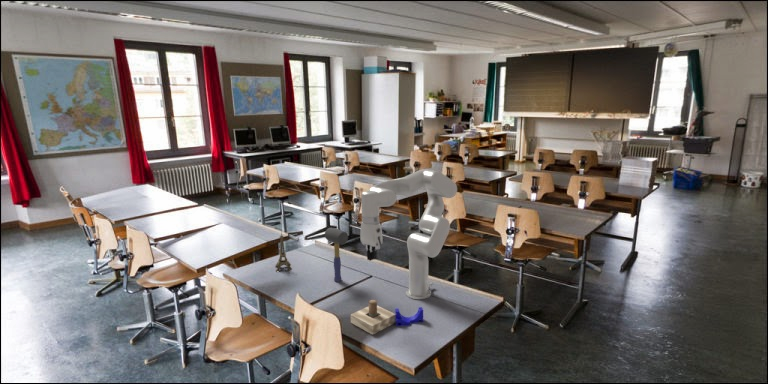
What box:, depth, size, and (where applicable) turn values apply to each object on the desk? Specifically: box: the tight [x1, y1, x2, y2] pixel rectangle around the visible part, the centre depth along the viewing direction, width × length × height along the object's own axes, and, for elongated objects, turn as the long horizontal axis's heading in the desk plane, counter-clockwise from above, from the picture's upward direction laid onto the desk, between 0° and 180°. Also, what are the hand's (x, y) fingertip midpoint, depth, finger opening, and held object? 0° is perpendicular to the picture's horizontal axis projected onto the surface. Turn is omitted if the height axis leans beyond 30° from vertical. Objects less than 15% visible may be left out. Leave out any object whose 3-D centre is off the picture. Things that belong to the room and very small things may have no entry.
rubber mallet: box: [324, 227, 349, 283], centre depth 223 cm, size 12×8×30 cm, turn 46°
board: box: [350, 305, 396, 336], centre depth 183 cm, size 14×14×4 cm
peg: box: [368, 299, 378, 318], centre depth 183 cm, size 4×4×10 cm
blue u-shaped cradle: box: [394, 306, 424, 327], centre depth 183 cm, size 12×4×6 cm, turn 96°
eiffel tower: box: [274, 231, 293, 273], centre depth 242 cm, size 11×11×25 cm
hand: (371, 259), depth 184 cm, fingers closed
